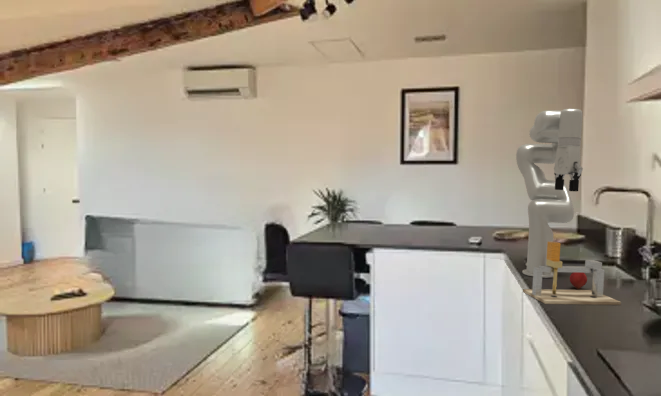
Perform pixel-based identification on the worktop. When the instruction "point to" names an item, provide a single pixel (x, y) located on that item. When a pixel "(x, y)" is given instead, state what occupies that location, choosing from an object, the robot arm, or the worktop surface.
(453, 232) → the worktop surface
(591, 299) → the bolt plate
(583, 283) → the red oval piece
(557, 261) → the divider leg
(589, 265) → the grey arch frame
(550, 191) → the robot arm
